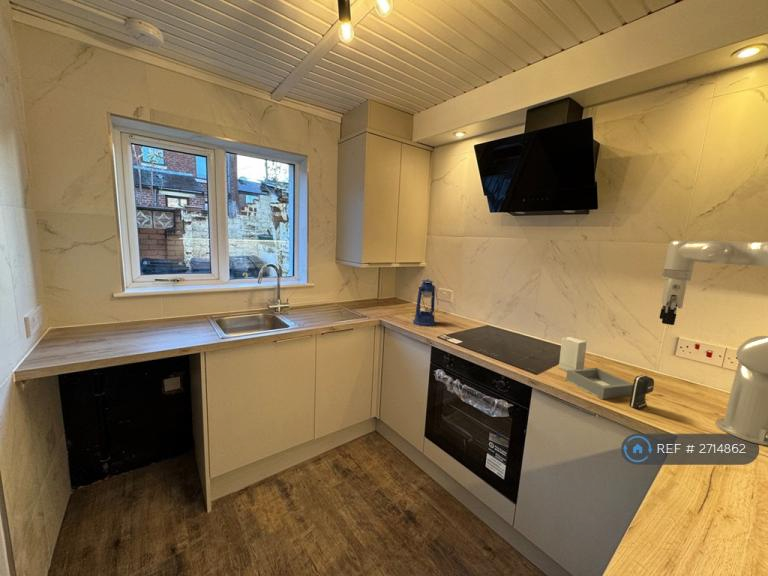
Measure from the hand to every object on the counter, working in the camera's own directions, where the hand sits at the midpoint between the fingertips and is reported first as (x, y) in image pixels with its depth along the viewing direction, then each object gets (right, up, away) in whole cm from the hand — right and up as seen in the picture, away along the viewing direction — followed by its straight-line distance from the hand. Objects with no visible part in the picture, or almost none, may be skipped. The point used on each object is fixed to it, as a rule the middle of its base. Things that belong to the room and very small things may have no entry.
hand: (666, 321), depth 112 cm
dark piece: (-11, -31, -2) cm, 33 cm away
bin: (-16, -28, +12) cm, 35 cm away
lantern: (-76, -12, +95) cm, 122 cm away
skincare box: (-18, -26, +28) cm, 42 cm away
